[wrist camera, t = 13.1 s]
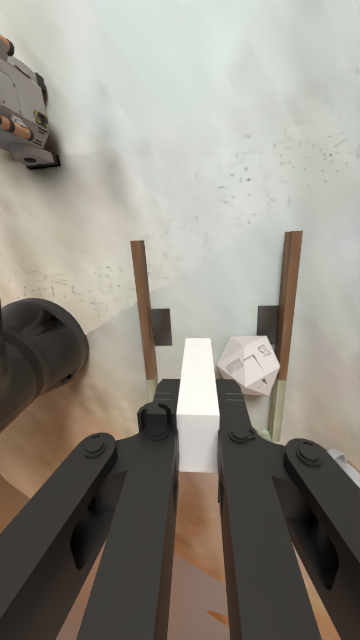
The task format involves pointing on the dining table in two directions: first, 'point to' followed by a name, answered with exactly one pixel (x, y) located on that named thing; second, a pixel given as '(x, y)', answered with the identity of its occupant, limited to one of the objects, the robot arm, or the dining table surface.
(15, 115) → the figurine
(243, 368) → the die
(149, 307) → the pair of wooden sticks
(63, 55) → the dining table surface
